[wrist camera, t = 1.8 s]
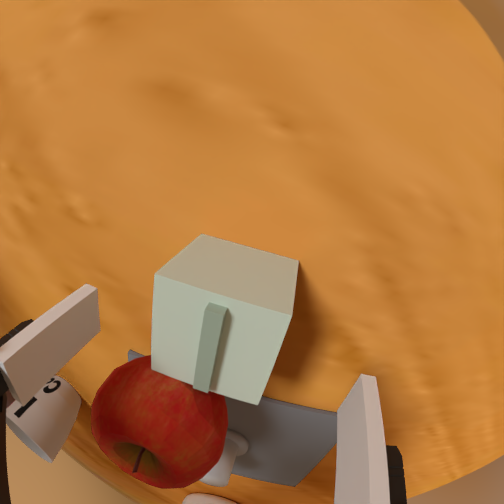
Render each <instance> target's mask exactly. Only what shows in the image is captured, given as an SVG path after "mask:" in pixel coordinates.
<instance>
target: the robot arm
mask: <svg viewBox="0 0 504 504" xmlns="http://www.w3.org/2000/svg"><path fill="white" fill-rule="evenodd" d="M100 331H101V330H100V320H99V307H98V291H97V288H95V287H93V286H91V285H89V284H87V283H86V284H85V285H83V286H82V287H81V288H79V289H78V290H76V291H75V292H73V293H72V294H71V295H69V296H68V297H66V298H65V299H63V300H62V301H61V302H59V303H58V304H56V305H55V306H54V307H52V308H51V309H50V310H48V311H47V312H46V313H44V314H43V315H41V316H40V317H39V318H37V319H36V320H35V321H33V320H32V319H30V320H27V321H25V322H22V323H20V324H19V325H18V326H16V327H15V328H14V330H13V329H12V330H11V331H10V332H9V333H8V334H6V335H5V336H3V337H2V338H1V339H0V504H11V500H10V494H9V485H8V475H7V462H6V407H7V394H6V391H8V390H10V392H11V394H12V396H13V398H14V399H15V400H17V401H18V402H19V403H20V404H21V405H22V406H25V405H26V404H27V403H28V402H29V401H30V400H31V398H32V397H33V396H34V395H35V394H36V393H37V392H38V391H39V390H40V389H41V388H42V387H43V386H44V385H45V384H46V383H47V382H48V381H49V380H50V379H51V378H52V377H53V376H54V375H55V374H56V373H57V372H58V371H59V370H60V369H61V368H62V367H63V366H64V365H65V364H66V363H67V362H68V361H69V360H70V359H71V358H72V357H73V356H74V355H75V354H76V353H78V352H79V351H80V350H81V349H82V348H83V347H84V346H85V345H86V344H87V343H88V342H89V341H90V340H91V339H92V338H93V337H94V336H95V335H96V334H97V333H98V332H100ZM334 504H407V499H406V487H405V477H404V469H403V461H402V455H401V453H400V452H399V450H398V448H397V446H388V445H385V436H384V428H383V420H382V413H381V406H380V400H379V393H378V387H377V381H376V377H374V376H369V375H364V374H361V375H360V376H359V378H358V380H357V381H356V383H355V384H354V386H353V388H352V389H351V391H350V392H349V394H348V395H347V397H346V398H345V400H344V401H343V403H342V404H341V406H340V407H339V409H338V410H337V460H336V481H335V497H334Z"/></svg>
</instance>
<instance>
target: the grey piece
mask: <svg viewBox="0 0 504 504" xmlns="http://www.w3.org/2000/svg"><path fill="white" fill-rule="evenodd" d="M140 357H144V356H143V355H141V354H139V353H136V352H134V351H132V350H129V352H128V362H129V361H131V360H133V359H135V358H140ZM224 397H225V401H226V406H227V413H228V428H227V433H226V438H225V443H224V449H223V453H222V455H221V457H220V459H219V462H218V463H217V464H216V465H215V466H214V467H213V468H212V469H211V470H210V471H209V472H208V473H207V474H206V475H205V476H204V477H203V478H202V479H200V481H201V482H203V483H206V484H208V485H212V486H217V487H224V486H227V485H228V481H229V478H230V475H231V473H232V474H236V475H240V476H244V477H248V478H252V479H256V480H261V481H266V482H271V483H276V484H282V485H288V486H294V487H295V486H296V485H297V484H298V483H299V482H300V481H301V480H302V479H303V478H304V477H305V476H306V475H307V474H308V473H309V472H310V471H311V470H312V469H313V468H314V467H315V466H316V465H317V464H318V463H319V462H320V461H321V460H322V459H323V458H324V456H325V455H326V454H327V453H328V452H329V451H330V450H331V449H332V448H333V446H334V445H335V444H336V443H337V413H336V412H330V411H325V410H319V409H314V408H309V407H305V406H300V405H295V404H291V403H287V402H283V401H278V400H274V399H270V398H267V397H263V396H262V397H261V399H260V401H259V404H258V405H255V404H251V403H247V402H244V401H240V400H237V399H234V398H230V397H227V396H224Z"/></svg>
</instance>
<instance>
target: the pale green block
mask: <svg viewBox="0 0 504 504" xmlns="http://www.w3.org/2000/svg"><path fill="white" fill-rule="evenodd" d="M298 264H299V261H298V260H294V259H291V258H287V257H284V256H280V255H277V254H273V253H270V252H266V251H262V250H259V249H255V248H252V247H248V246H244V245H241V244H237V243H234V242H230V241H227V240H223V239H219V238H216V237H212V236H209V235H205V234H201V235H199V236H198V237H197V238H196V239H195V240H193V241H192V242H191V243H190V244H189V245H187V246H186V247H185V248H184V249H183V250H182V251H180V252H179V253H178V254H177V255H176V256H174V257H173V258H172V259H171V260H170V261H169V262H167V263H166V264H165V265H164V266H163V267H162V268H161V269H159V270H158V271H157V272H156V273H155V276H154V291H153V310H152V340H151V369H152V370H155V371H157V372H159V373H162V374H164V375H167V376H170V377H172V378H175V379H177V380H180V381H183V382H185V383H188V384H191V385H193V388H194V389H197V390H200V391H203V392H206V393H208V392H209V391H211V392H214V393H218V394H221V395H224V396H227V397H230V398H234V399H237V400H240V401H244V402H247V403H251V404H255V405H258V404H259V401H260V399H261V397H262V394H263V392H264V389H265V387H266V384H267V382H268V379H269V377H270V374H271V371H272V369H273V366H274V364H275V361H276V358H277V356H278V353H279V350H280V348H281V345H282V342H283V340H284V337H285V334H286V332H287V329H288V326H289V323H290V320H291V318H292V313H293V306H294V298H295V290H296V281H297V272H298Z"/></svg>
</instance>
